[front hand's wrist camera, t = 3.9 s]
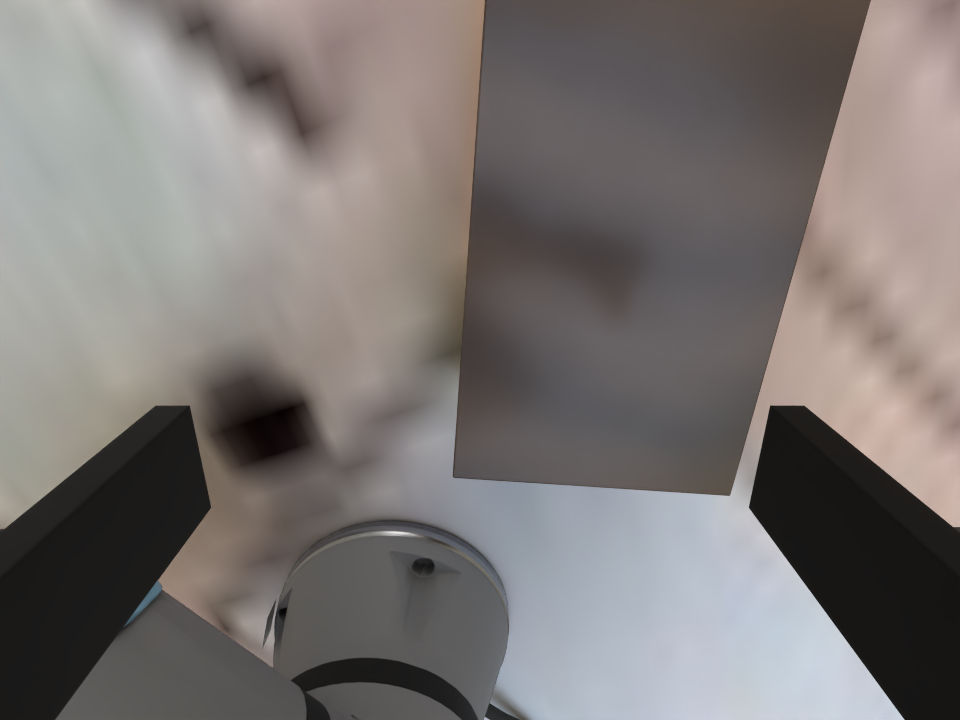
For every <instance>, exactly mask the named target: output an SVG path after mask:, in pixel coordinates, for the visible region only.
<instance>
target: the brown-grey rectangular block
mask: <svg viewBox="0 0 960 720" xmlns="http://www.w3.org/2000/svg"><path fill="white" fill-rule="evenodd" d="M870 1H871V0H485V9H484V24H483V39H482V53H481V68H480V83H479V98H478V112H477V127H476V142H475V157H474V171H473V186H472V201H471V216H470V230H469V245H468V260H467V274H466V289H465V304H464V319H463V333H462V348H461V363H460V378H459V392H458V407H457V422H456V437H455V451H454V466H453V477H454V478H467V479H482V480H497V481H512V482H528V483H543V484H558V485H573V486H589V487H604V488H619V489H634V490H650V491H665V492H680V493H695V494H711V495H726V496H730V494H731V490H732V487H733V483H734V480H735V476H736V473H737V469H738V466H739V462H740V459H741V455H742V451H743V448H744V444H745V441H746V437H747V434H748V430H749V427H750V423H751V420H752V416H753V413H754V409H755V406H756V402H757V399H758V395H759V392H760V388H761V385H762V381H763V378H764V374H765V371H766V367H767V364H768V360H769V356H770V353H771V349H772V346H773V342H774V339H775V335H776V332H777V328H778V325H779V321H780V318H781V314H782V311H783V307H784V304H785V300H786V297H787V293H788V290H789V286H790V283H791V279H792V276H793V272H794V269H795V265H796V262H797V258H798V254H799V251H800V247H801V244H802V240H803V237H804V233H805V230H806V226H807V223H808V219H809V216H810V212H811V209H812V205H813V202H814V198H815V195H816V191H817V188H818V184H819V181H820V177H821V174H822V170H823V167H824V163H825V159H826V156H827V152H828V149H829V145H830V142H831V138H832V135H833V131H834V128H835V124H836V121H837V117H838V114H839V110H840V107H841V103H842V100H843V96H844V93H845V89H846V86H847V82H848V79H849V75H850V72H851V68H852V64H853V61H854V57H855V54H856V50H857V47H858V43H859V40H860V36H861V33H862V29H863V26H864V22H865V19H866V15H867V12H868V8H869V5H870Z"/></svg>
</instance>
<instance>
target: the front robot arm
mask: <svg viewBox="0 0 960 720" xmlns="http://www.w3.org/2000/svg"><path fill="white" fill-rule="evenodd" d="M210 508H211V505H210V500H209V495H208V491H207V486H206V481H205V476H204V472H203V467H202V462H201V457H200V453H199V448H198V443H197V438H196V433H195V429H194V424H193V419H192V414H191V410H190V406H155V407H154V408H152V409H151V410H150V411H149V412H148V413H146V414H145V415H144V416H143V417H141V418H140V419H139V420H138V421H136V422H135V423H134V424H133V425H132V426H130V427H129V428H128V429H127V430H125V431H124V432H123V433H122V434H121V435H119V436H118V437H117V438H116V439H114V440H113V441H112V442H111V443H110V444H108V445H107V446H106V447H105V448H103V449H102V450H101V451H100V452H98V453H97V454H96V455H95V456H94V457H92V458H91V459H90V460H89V461H87V462H86V463H85V464H84V465H83V466H81V467H80V468H79V469H78V470H76V471H75V472H74V473H73V474H71V475H70V476H69V477H68V478H67V479H65V480H64V481H63V482H62V483H60V484H59V485H58V486H57V487H56V488H54V489H53V490H52V491H51V492H49V493H48V494H47V495H46V496H45V497H43V498H42V499H41V500H40V501H38V502H37V503H36V504H35V505H33V506H32V507H31V508H30V509H29V510H27V511H26V512H25V513H24V514H22V515H21V516H20V517H19V518H18V519H16V520H15V521H14V522H13V523H11V524H10V525H9V526H8V527H7V528H5V529H0V720H484V717H486V718H488V719H490V720H519V719H517V718H515V717H513V716H511V715H508V714H507V713H505V712H503V711H501V710H500V709H498V708H496V707H495V706H493V705H491V704H490V703H489V702H490V699H491V696H492V693H493V690H494V687H495V684H496V680H497V677H498V674H499V670H500V667H501V665H502V663H503V660H504V657H505V653H506V648H507V641H508V634H509V620H508V605H507V598H506V594H505V591H504V588H503V585H502V583H501V581H500V579H499V577H498V575H497V574H496V572H495V571H494V569H493V568H492V567H491V565H490V564H489V563H488V562H487V561H486V560H485V558H484V557H483V556H482V555H481V554H479V553H478V552H477V551H476V550H475V549H473V548H472V547H471V546H469V545H468V544H466V543H465V542H463V541H462V540H460V539H458V538H456V537H455V536H453V535H450V534H448V533H446V532H444V531H441V530H438V529H435V528H432V527H429V526H425V525H421V524H416V523H410V522H400V521H379V522H369V523H363V524H358V525H354V526H350V527H347V528H344V529H341V530H339V531H337V532H334V533H332V534H330V535H328V536H326V537H325V538H323V539H321V540H320V541H318V542H317V543H316V544H314V545H313V546H312V547H310V548H309V549H308V550H307V551H306V552H305V553H304V554H303V555H302V556H301V557H300V558H299V560H298V561H297V563H296V564H295V565H294V567H293V569H292V571H291V572H290V574H289V577H288V579H287V581H286V583H285V586H284V588H283V590H282V593H281V595H280V599H279V603H278V607H277V612H276V616H275V631H274V635H275V643H274V659H273V668H272V667H271V666H269V665H268V664H266V663H265V662H264V661H262V660H261V659H259V658H258V657H256V656H255V655H254V654H252V653H251V652H249V651H248V650H247V649H245V648H244V647H242V646H241V645H240V644H238V643H237V642H235V641H234V640H232V639H231V638H230V637H228V636H227V635H225V634H224V633H223V632H221V631H220V630H218V629H217V628H215V627H214V626H213V625H211V624H210V623H208V622H207V621H206V620H204V619H203V618H201V617H200V616H199V615H197V614H196V613H194V612H193V611H191V610H190V609H189V608H187V607H186V606H184V605H183V604H182V603H180V602H179V601H177V600H176V599H174V598H173V597H172V596H170V595H169V594H167V593H166V592H165V591H163V590H162V585H161V584H160V583H159V582H158V579H159V578H160V576H161V575H162V574H163V572H164V571H165V570H166V568H167V567H168V566H169V564H170V563H171V561H172V560H173V559H174V557H175V556H176V555H177V553H178V552H179V551H180V549H181V548H182V547H183V545H184V544H185V542H186V541H187V540H188V538H189V537H190V536H191V534H192V533H193V532H194V530H195V529H196V527H197V526H198V525H199V523H200V522H201V521H202V519H203V518H204V517H205V515H206V514H207V512H208V511H209V510H210ZM749 508H750V510H751V511H752V512H753V514H754V515H755V517H756V518H757V519H758V521H759V522H760V523H761V525H762V526H763V527H764V529H765V530H766V532H767V533H768V534H769V536H770V537H771V538H772V540H773V541H774V542H775V544H776V545H777V547H778V548H779V549H780V551H781V552H782V553H783V555H784V556H785V557H786V559H787V560H788V561H789V563H790V564H791V566H792V567H793V568H794V570H795V571H796V572H797V574H798V575H799V576H800V578H801V579H802V581H803V582H804V583H805V585H806V586H807V587H808V589H809V590H810V591H811V593H812V594H813V596H814V597H815V598H816V600H817V601H818V602H819V604H820V605H821V606H822V608H823V609H824V611H825V612H826V613H827V615H828V616H829V617H830V619H831V620H832V621H833V623H834V624H835V626H836V627H837V628H838V630H839V631H840V632H841V634H842V635H843V636H844V638H845V639H846V640H847V642H848V643H849V645H850V646H851V647H852V649H853V650H854V651H855V653H856V654H857V655H858V657H859V658H860V660H861V661H862V662H863V664H864V665H865V666H866V668H867V669H868V670H869V672H870V673H871V675H872V676H873V677H874V679H875V680H876V681H877V683H878V684H879V685H880V687H881V688H882V690H883V691H884V692H885V694H886V695H887V696H888V698H889V699H890V700H891V702H892V703H893V705H894V706H895V707H896V709H897V710H898V711H899V713H900V714H901V715H902V717H903V718H904V719H905V720H960V527H952V526H951V525H950V524H949V523H947V522H946V521H945V520H944V519H942V518H941V517H940V516H939V515H938V514H936V513H935V512H934V511H933V510H931V509H930V508H929V507H928V506H927V505H925V504H924V503H923V502H922V501H920V500H919V499H918V498H917V497H915V496H914V495H913V494H912V493H911V492H909V491H908V490H907V489H906V488H904V487H903V486H902V485H901V484H900V483H898V482H897V481H896V480H895V479H893V478H892V477H891V476H890V475H889V474H887V473H886V472H885V471H884V470H882V469H881V468H880V467H879V466H877V465H876V464H875V463H874V462H873V461H871V460H870V459H869V458H868V457H866V456H865V455H864V454H863V453H862V452H860V451H859V450H858V449H857V448H855V447H854V446H853V445H852V444H850V443H849V442H848V441H847V440H846V439H844V438H843V437H842V436H841V435H839V434H838V433H837V432H836V431H835V430H833V429H832V428H831V427H830V426H828V425H827V424H826V423H825V422H824V421H822V420H821V419H820V418H819V417H817V416H816V415H815V414H814V413H812V412H811V411H810V410H809V409H808V408H806V407H805V406H770V410H769V414H768V419H767V424H766V429H765V433H764V438H763V443H762V448H761V453H760V457H759V462H758V467H757V472H756V476H755V481H754V486H753V491H752V495H751V500H750V505H749ZM275 603H276V600H275ZM275 603H274V605H273V607H272V609H271V612H270V614H269V616H268V619H267V625H266V630H265V636H264V641H263V646H264V644H265V642H266V639H267V637H268V635H269V632H270V630H271V625H272V619H273V614H274V608H275ZM262 649H263V647H262Z"/></svg>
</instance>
